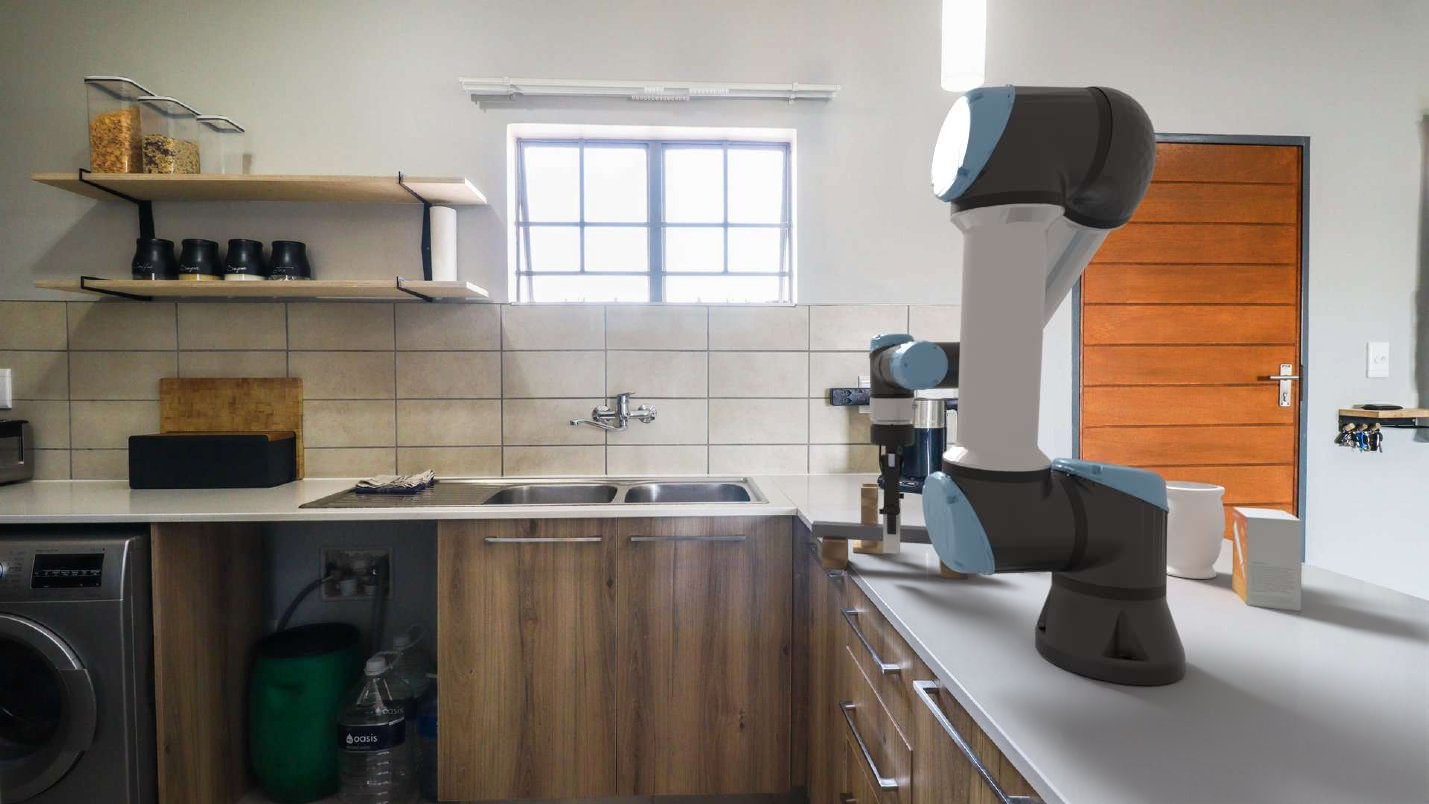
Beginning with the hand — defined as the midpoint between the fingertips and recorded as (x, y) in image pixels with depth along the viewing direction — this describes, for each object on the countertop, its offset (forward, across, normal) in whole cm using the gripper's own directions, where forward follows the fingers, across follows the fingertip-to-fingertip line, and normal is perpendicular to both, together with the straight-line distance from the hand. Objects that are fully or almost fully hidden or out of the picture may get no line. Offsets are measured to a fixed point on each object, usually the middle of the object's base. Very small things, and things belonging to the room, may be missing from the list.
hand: (892, 543), depth 113 cm
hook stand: (+4, +13, -6) cm, 15 cm away
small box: (+5, -3, -53) cm, 54 cm away
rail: (-1, 0, 0) cm, 1 cm away
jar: (+5, +10, -48) cm, 49 cm away
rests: (+4, 0, 0) cm, 4 cm away
